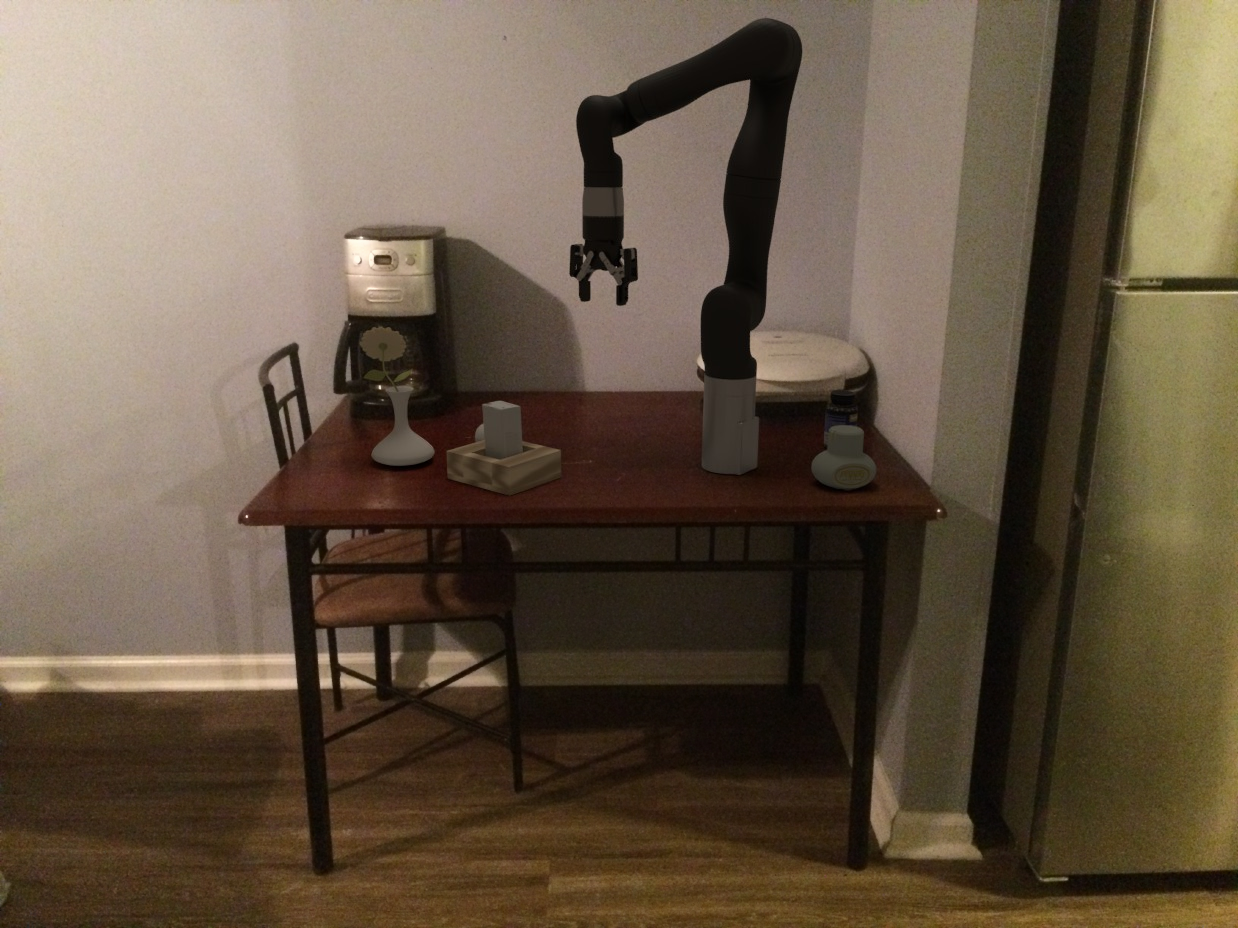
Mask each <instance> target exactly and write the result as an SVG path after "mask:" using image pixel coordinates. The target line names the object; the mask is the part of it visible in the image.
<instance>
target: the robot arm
mask: <svg viewBox="0 0 1238 928" xmlns="http://www.w3.org/2000/svg"><path fill="white" fill-rule="evenodd" d="M802 58H803V43H802V39H801V36H800V35H799V33H798V31H797V30H796V28H794V27H793V26H792V25H791V24H788V23H786V22H783V21H781V20H777V19H775V18H770V17H769V18H768V17H762V18H758V19H755V20H753V21H752V22H749V23H748V24H746V25H745V26H743V27H742V28H740V29H738V30H737V31H735V32H734V33H732V34H731V35H729V36H727V37H726V38H725V39H723V40H722V41H720V42H718V43H716V44H715V45H713V46H711V47H709V48H707V49H706V50H704V51H701V52H699V53H698V54H696V55H693V56H692V57H689V58H688V59H685V60H682V61H680V62H678V63H676V64H673V65H671V66H668V67H666V68H663V69H661V70H658V71H655V72H654V73H651V74H648V75H646V76H644V77H643V76H642V77H641V78H639V79H637V80H635V81H633V82H631V83H630V84H629V85H628V86H627V88H626V90H623V91H622V92H621V91H620V93H617V94H614V95H609V96H608V95H601V94H592V95H588V96H586V97H585V98H584V99H583V100H582V101H581V102H580V104H579V105H578V106H579V107H578V108H577V112H576V119H575V123H576V124H575V125H576V127H575V128H576V133H577V134H576V135H577V138H578V144H579V148H580V149H579V150H580V152H581V153H580V154H581V156H582V160H583V194H582V203H581V204H582V210H581V211H582V213H581V216H582V217H581V218H582V221H581V222H582V223H581V225H582V227H581V228H582V231H581V232H582V235H581V236H582V239H583V240H584V244H582V243H574V244H571V245H570V249H569V271H568V274H569V276H570V278H574V279H576V280H577V282H578V297H579V300H580V302H581V303H586V302H590V301H591V299H592V298H591V297H592V296H591V295H592V294H591V293H592V291H591V287H592V286H591V285H592V284H591V283H592V282H591V280H590V279H591V277H592V275H593V274H594V272H597V271H598V270H601V271H604V272H608V273H609V274H610V276H612V277H613V278H614V280H615V282H616V286H615V287H616V288H615V291H616V292H615V294H616V295H615V304H616V306H618V307H622V306H626V305H627V303H628V302H629V285H630V284H631V283H634V282H637V281H638V279H639V273H638V271H639V268H638V267H639V266H638V264H639V263H638V250H637V248H636V247H626V248H624V247H623V240H624V238H625V235H624V234H625V197H624V186H623V185H624V179H623V178H624V176H623V175H624V173H623V171H624V170H623V169H624V167H623V166H624V165H623V159H622V157H621V156H620V154H618V153H617V152H616V150H615V148H614V147H615V145H614V140H613V138H618V137H621V136H623V135H626V134H628V133H631V132H632V131H634V130H635V129H637V128H639V127H640V126H642V125H644V124H646V123H647V122H650V121H653V120H657V119H659V118H661V117H662V118H663V117H664V116H668V115H669V114H672V113H674V112H676V111H679V110H680V109H681V110H682V109H683V108H685V107H687V106H689V105H691V104H692V103H693V102H695V101H697V100H699V99H700V98H701V97H702V96H705V95H707V94H708V93H710V92H712V91H714V90H717V89H719V88H722V87H725V86H727V85H731V84H736V83H740V82H745V81H749V92H748V100H747V108H746V113H745V116H744V119H743V122H742V125H741V127H740V130H739V131H738V134H737V137H736V139H735V141H734V145H733V146H732V149H731V152H730V155H729V158H728V162H727V165H726V166H727V167H726V174H725V181H724V190H723V195H722V196H723V199H722V206H723V208H722V209H723V216H724V217H723V218H724V224H725V228H726V234H727V239H728V260H727V265H726V266H727V267H726V273H725V277H724V281H723V284H721V285H719V286H716V287H714V288H712V289H711V290H710V291H709V292H708V293H707V294H706V295H705V297H704V299H703V301H702V304H701V311H700V355H701V360H702V362H703V367H704V375H703V376H704V378H703V379H704V381H703V406H702V407H703V410H702V411H703V412H702V439H701V440H702V441H701V442H702V443H701V468H702V469H703V470H705V471H708V472H711V473H716V474H721V475H723V474H724V475H738V476H741V475H743V474H745V473H747V472H750V471H752V470H755V469H756V468H757V467H758V457H759V454H758V453H759V428H760V418H759V416H756V398H757V397H756V396H757V394H756V393H757V374H758V372H757V371H758V362H757V359H756V358H755V357H754V356H753V355H752V353H751V332H752V331H754V330H755V329H757V327H758V326H759V325H760V324H761V323H762V321H763V319H764V316H765V313H766V308H767V291H768V266H769V255H770V249H771V244H772V238H773V234H774V233H773V232H774V226H775V221H776V220H775V219H776V213H777V212H776V211H777V208H778V204H779V203H778V202H779V196H780V191H781V190H780V189H781V182H782V174H783V167H784V166H783V165H784V164H783V163H784V156H785V149H786V142H787V141H786V140H787V131H788V122H789V114H790V110H791V106H792V101H793V97H794V92H795V88H796V83H797V81H798V80H797V79H798V77H799V73H800V69H801V65H802ZM584 257H585V259H584ZM621 259H622V260H623V261H622V260H621Z"/></svg>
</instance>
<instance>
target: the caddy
mask: <svg viewBox="0 0 1238 928" xmlns="http://www.w3.org/2000/svg"><path fill="white" fill-rule="evenodd" d="M522 444H523V453H520V454H517V455H514V456H511V457H508V458H505V459H501V460H498V459H494V458H490V457H486V452H485V440H483V441H479V442H476V441H475V442H472V443H470V444H465V445H463V446H459V447H455V448H453V449H448V450H446V467H447V468H446V472H447V473H446V474H447V479H448V480H452V481H456V482H459V483H463V484H467V485H469V486H474V487H478V488H481V489H485V490H489V491H491V492H494V493H499V494H502V495H506V496H514V495H516V494H518V493H521V492H524V491H527V490H530V489H532V488H535V487H539V486H540V485H543V484H546V483H550V482H551V481H552V482H553V481H554V480H557V479H561V478H562V450H561V449H557V448H553V447H550V446H545V445H540V444H536V443H532V442H528V441H524V440H522Z"/></svg>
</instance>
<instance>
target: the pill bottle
mask: <svg viewBox="0 0 1238 928" xmlns="http://www.w3.org/2000/svg"><path fill="white" fill-rule="evenodd" d="M856 394H857V393H856V392H854V391H851V390H847V389H846V390H844V389H842V390H841V389H839V390H832V391H830V401H831V402H830V403H828V404H827V405H826V407H825V414H824V415H825V417H824V418H825V419H824V430H823V431H824V433H823V447H824V448H826V449H827V448H828V436H829V429H830V428H831V427H833V426H838V425H849V426H855V427H858V418H859V416H858V415H859V414H858V413H859V408H858V406H857V405H856V404H855V403H854V402H855V400H856V397H857V396H856Z"/></svg>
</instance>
